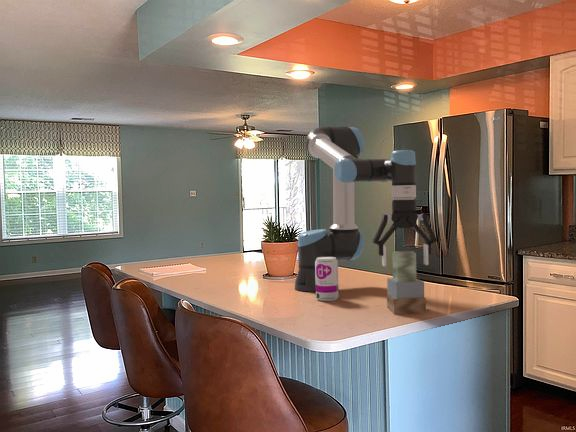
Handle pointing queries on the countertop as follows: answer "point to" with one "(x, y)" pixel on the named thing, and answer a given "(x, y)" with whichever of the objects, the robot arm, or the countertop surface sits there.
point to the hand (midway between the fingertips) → (405, 265)
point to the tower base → (406, 305)
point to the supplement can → (326, 278)
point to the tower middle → (405, 289)
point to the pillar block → (404, 266)
